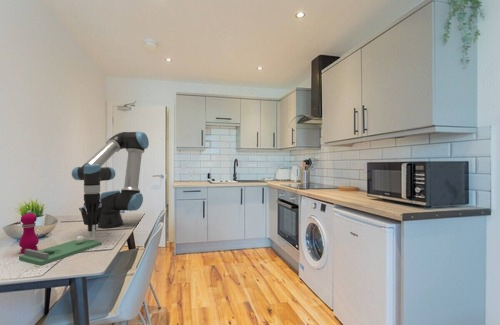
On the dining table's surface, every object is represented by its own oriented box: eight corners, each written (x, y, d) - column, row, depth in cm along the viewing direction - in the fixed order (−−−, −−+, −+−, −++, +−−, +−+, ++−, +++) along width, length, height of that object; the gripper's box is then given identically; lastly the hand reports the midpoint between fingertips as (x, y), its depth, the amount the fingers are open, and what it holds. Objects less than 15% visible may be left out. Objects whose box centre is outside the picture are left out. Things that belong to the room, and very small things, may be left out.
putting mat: (80, 241, 141) (80, 233, 140) (101, 244, 135) (101, 237, 134) (18, 259, 115) (18, 250, 115) (41, 265, 109) (41, 256, 109)
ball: (81, 241, 135) (81, 234, 135) (86, 242, 133) (86, 235, 133) (73, 244, 131) (73, 236, 131) (78, 245, 129) (78, 237, 129)
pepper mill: (16, 252, 124) (15, 210, 123) (34, 247, 130) (34, 208, 130) (23, 255, 120) (22, 212, 120) (41, 250, 127) (41, 209, 126)
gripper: (98, 191, 145) (98, 232, 146) (75, 194, 133) (75, 239, 133) (107, 192, 143) (108, 234, 143) (85, 194, 130) (85, 241, 131)
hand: (92, 236), depth 138 cm, fingers closed
